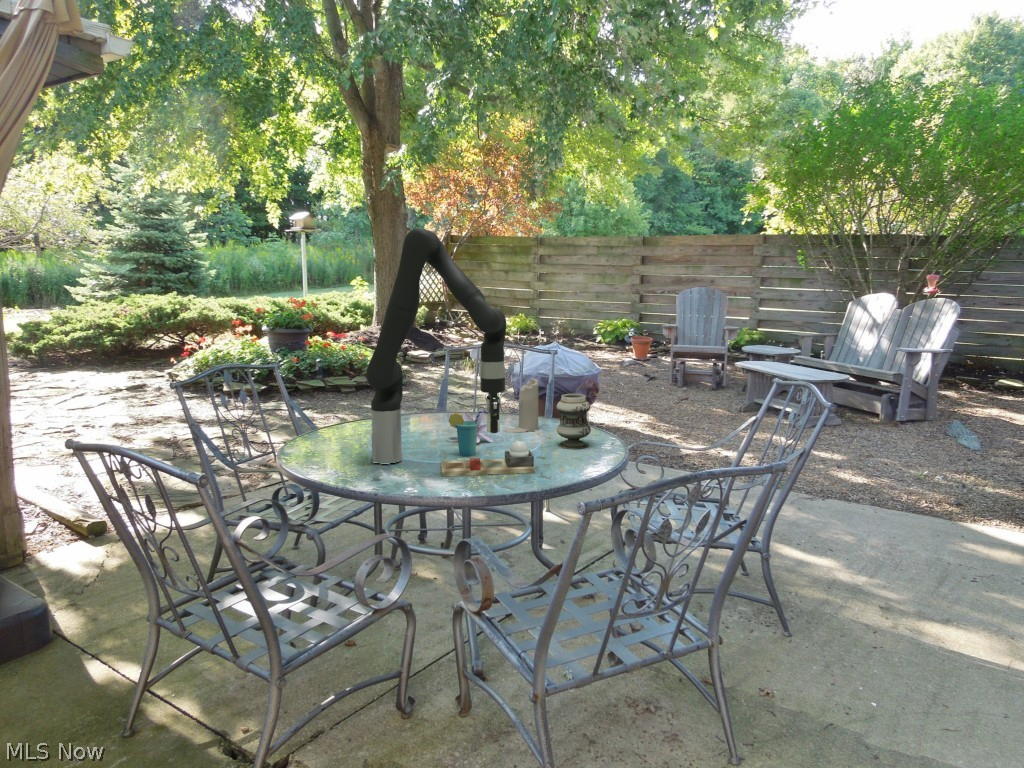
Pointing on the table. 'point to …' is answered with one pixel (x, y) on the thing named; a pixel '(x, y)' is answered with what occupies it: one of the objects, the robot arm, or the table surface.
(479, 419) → the water lily
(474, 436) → the cup
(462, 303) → the robot arm
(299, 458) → the table surface
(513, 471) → the board
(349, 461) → the table surface
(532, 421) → the candle
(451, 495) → the table surface
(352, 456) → the table surface
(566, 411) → the apothecary jar
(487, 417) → the pawn
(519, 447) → the pale round cylinder
